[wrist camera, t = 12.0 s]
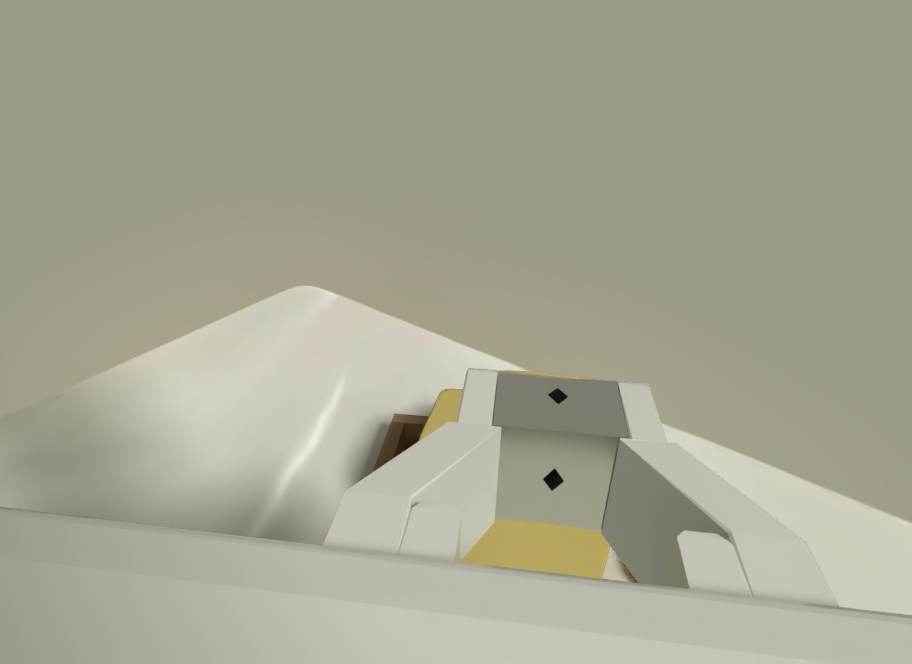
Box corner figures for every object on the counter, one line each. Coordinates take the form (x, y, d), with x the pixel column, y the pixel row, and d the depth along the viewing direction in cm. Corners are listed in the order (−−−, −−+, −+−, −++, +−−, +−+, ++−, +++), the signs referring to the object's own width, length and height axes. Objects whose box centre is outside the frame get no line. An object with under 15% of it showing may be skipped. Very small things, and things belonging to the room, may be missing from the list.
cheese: (442, 474, 43) (442, 358, 38) (590, 493, 41) (610, 373, 37) (409, 595, 34) (405, 461, 29) (598, 624, 32) (625, 488, 28)
